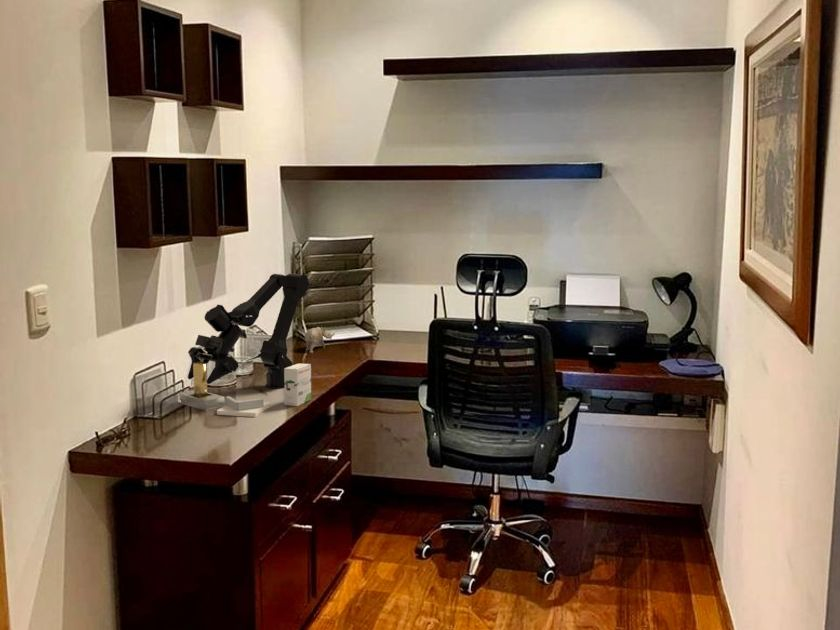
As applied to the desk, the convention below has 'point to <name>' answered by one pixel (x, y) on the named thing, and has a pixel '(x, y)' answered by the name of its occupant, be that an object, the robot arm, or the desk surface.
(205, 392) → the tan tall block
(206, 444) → the desk surface
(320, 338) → the elephant figurine
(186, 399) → the grey socket block
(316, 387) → the desk surface
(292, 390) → the ink box
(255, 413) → the v block
